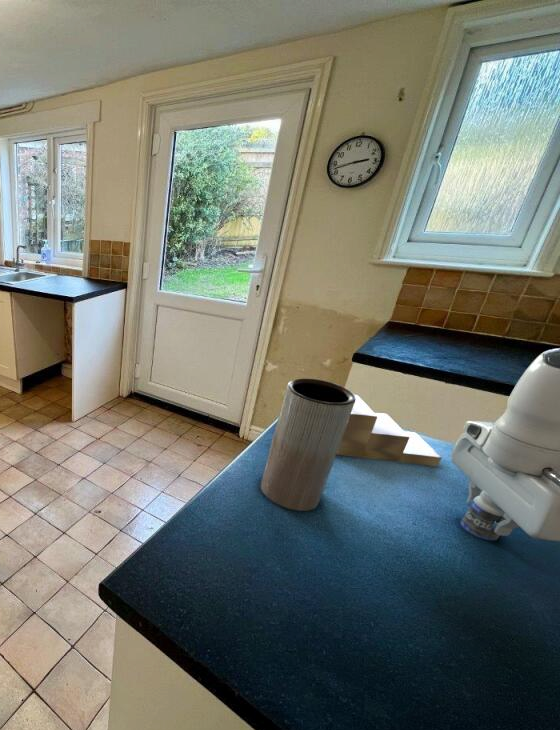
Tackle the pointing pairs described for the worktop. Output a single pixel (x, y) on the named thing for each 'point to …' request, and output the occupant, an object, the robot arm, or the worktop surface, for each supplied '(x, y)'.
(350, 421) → the small staircase
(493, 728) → the worktop surface
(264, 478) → the planter
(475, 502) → the pill bottle
